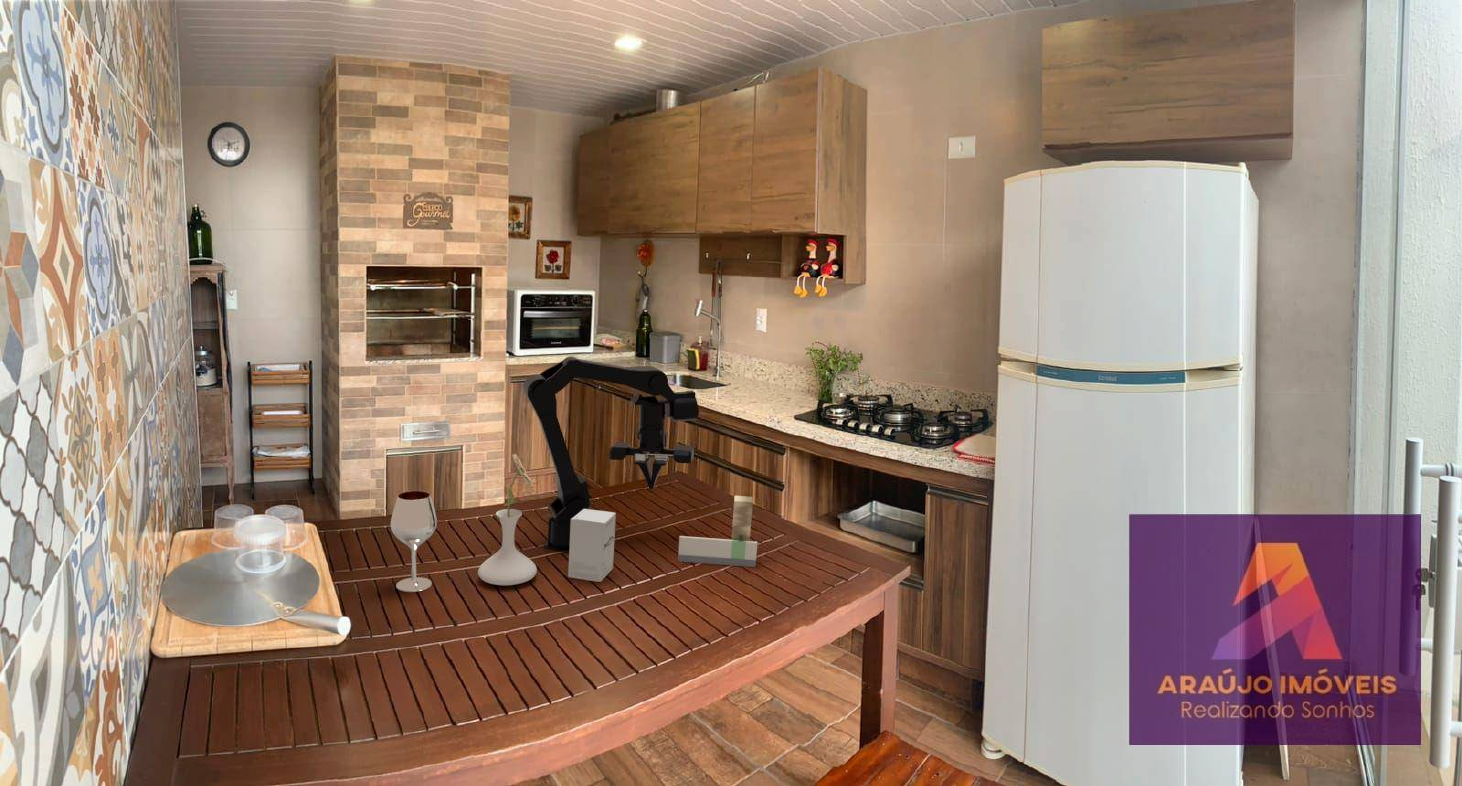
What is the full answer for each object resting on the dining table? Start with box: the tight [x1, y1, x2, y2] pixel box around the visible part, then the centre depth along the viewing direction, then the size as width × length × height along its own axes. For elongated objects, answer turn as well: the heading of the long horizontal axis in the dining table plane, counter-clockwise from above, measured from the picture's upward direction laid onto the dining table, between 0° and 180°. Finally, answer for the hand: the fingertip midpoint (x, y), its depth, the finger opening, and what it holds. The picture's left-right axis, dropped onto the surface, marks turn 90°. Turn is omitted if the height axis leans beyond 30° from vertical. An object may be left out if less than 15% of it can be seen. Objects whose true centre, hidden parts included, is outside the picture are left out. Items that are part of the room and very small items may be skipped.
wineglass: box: [390, 490, 438, 593], centre depth 153 cm, size 8×8×18 cm
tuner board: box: [677, 535, 758, 568], centre depth 179 cm, size 17×8×6 cm, turn 90°
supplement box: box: [567, 508, 617, 583], centre depth 165 cm, size 7×7×13 cm
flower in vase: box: [477, 453, 538, 586], centre depth 159 cm, size 13×11×25 cm
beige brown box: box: [730, 495, 754, 541], centre depth 177 cm, size 5×6×12 cm
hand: (651, 488), depth 185 cm, fingers closed
